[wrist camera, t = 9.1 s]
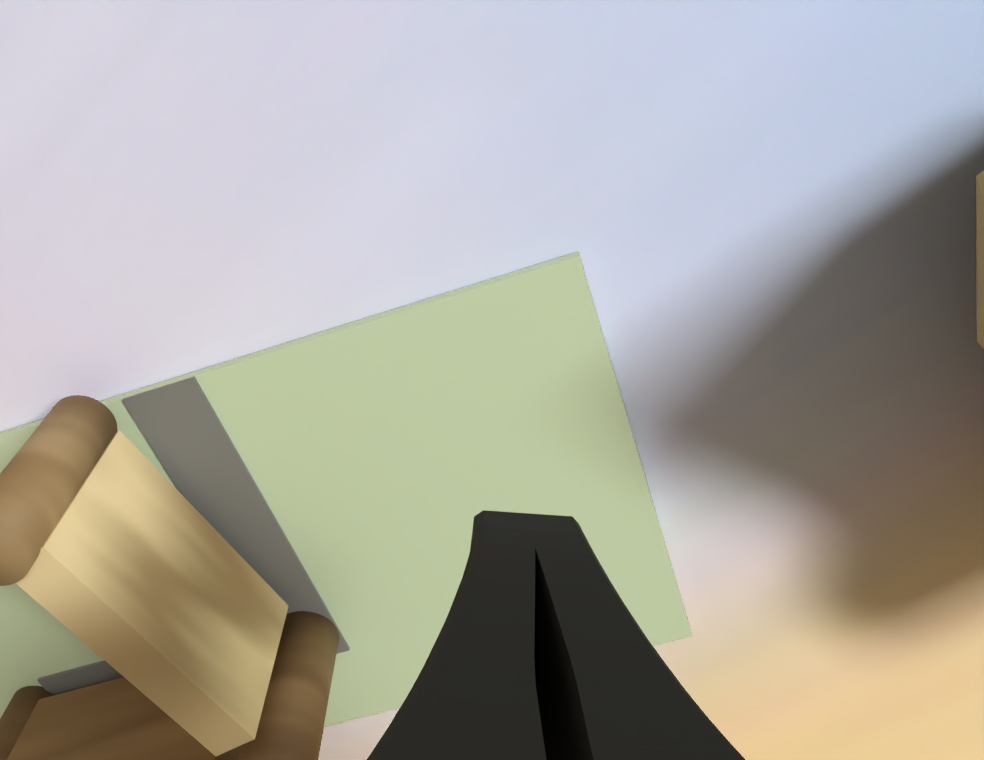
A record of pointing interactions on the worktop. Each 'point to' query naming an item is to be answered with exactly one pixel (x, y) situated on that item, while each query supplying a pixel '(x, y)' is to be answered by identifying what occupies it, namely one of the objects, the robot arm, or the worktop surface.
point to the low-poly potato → (980, 256)
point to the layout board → (389, 474)
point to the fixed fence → (156, 736)
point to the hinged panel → (139, 574)
